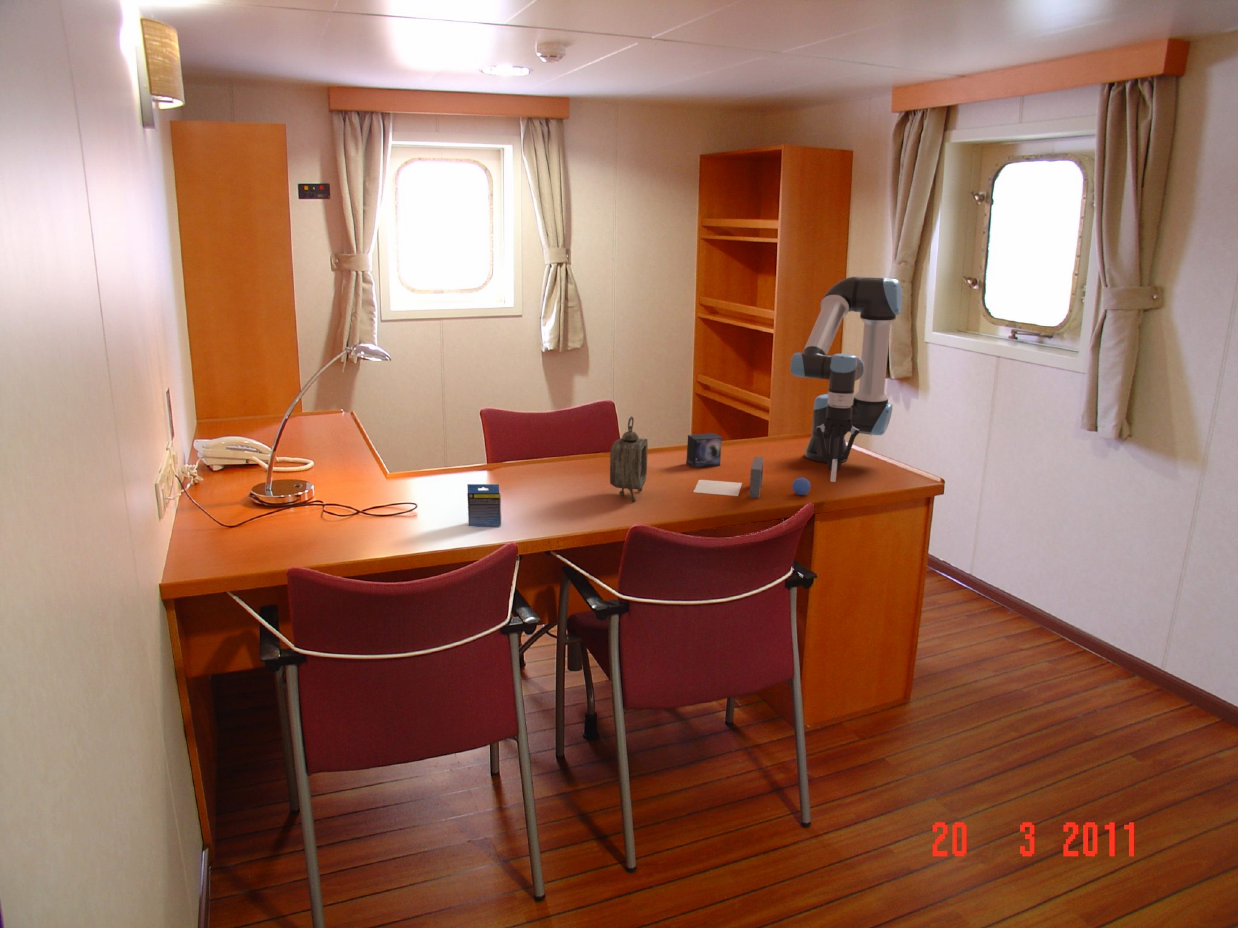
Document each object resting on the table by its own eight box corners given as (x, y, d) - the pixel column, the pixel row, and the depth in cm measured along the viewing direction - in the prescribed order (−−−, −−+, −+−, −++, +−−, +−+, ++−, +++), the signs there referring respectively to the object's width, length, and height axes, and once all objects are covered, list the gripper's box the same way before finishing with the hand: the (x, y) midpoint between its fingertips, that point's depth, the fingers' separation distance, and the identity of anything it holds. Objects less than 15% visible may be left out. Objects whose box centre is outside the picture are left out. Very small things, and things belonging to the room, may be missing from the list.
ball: (792, 491, 283) (793, 474, 281) (809, 492, 282) (811, 476, 280) (791, 496, 278) (792, 479, 276) (809, 498, 276) (810, 481, 275)
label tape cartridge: (501, 522, 250) (501, 480, 247) (500, 527, 246) (499, 484, 243) (469, 522, 250) (468, 480, 246) (468, 526, 246) (466, 484, 243)
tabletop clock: (638, 504, 267) (640, 423, 261) (608, 502, 269) (609, 421, 262) (646, 490, 281) (648, 412, 274) (618, 488, 283) (619, 411, 276)
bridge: (749, 497, 276) (750, 468, 273) (752, 484, 290) (754, 456, 287) (759, 498, 275) (760, 469, 273) (762, 484, 289) (763, 457, 286)
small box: (693, 468, 306) (695, 439, 303) (685, 463, 312) (686, 434, 309) (721, 466, 310) (722, 436, 307) (712, 461, 316) (713, 432, 313)
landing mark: (699, 480, 293) (699, 479, 293) (741, 483, 290) (741, 482, 290) (693, 492, 280) (693, 491, 280) (737, 496, 277) (738, 495, 277)
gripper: (817, 406, 268) (811, 482, 274) (862, 409, 265) (855, 485, 271) (817, 402, 275) (811, 475, 281) (861, 404, 272) (854, 479, 278)
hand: (833, 480), depth 276 cm, fingers closed
